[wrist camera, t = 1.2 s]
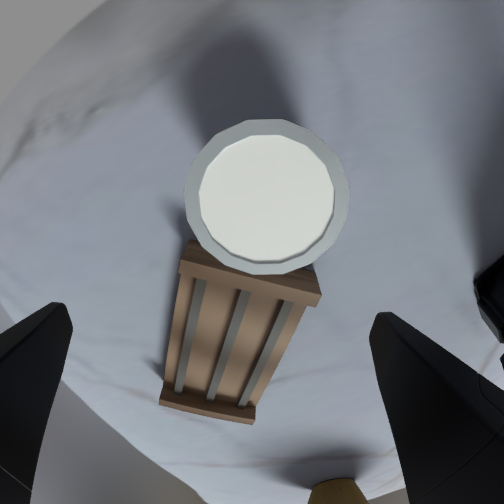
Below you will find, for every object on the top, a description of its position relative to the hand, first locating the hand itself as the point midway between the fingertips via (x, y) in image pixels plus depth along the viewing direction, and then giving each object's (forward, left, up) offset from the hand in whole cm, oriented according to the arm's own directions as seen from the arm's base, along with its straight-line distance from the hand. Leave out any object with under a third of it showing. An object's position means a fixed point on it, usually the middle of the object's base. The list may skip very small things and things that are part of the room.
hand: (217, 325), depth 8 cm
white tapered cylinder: (-2, 0, -13) cm, 13 cm away
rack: (+9, +8, -13) cm, 18 cm away
